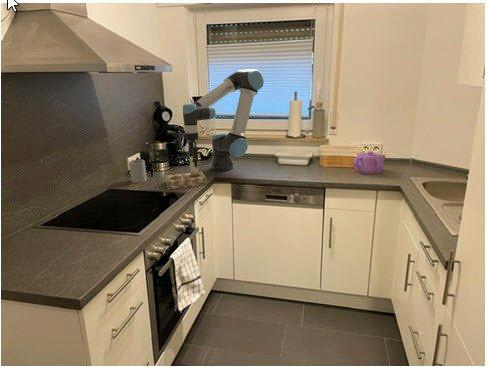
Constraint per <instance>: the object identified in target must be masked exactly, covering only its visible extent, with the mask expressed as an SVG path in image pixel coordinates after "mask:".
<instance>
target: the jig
mask: <svg viewBox="0 0 490 367" xmlns="http://www.w3.org/2000/svg"><path fill="white" fill-rule="evenodd" d="M198 175H199V177H192V178H191V172H187V173H186V172H185V173H179V174H178V173H177V174H168V175H167V174H166V175H165V176H164V178H165V180H164V181H165V184H166V187H167V190H173V189H181V188H189V187H188V186H190V187H197V186H196V185H198V186H206V185H208V180H207V176H206V175H205V174H204V173H203V171H199V172H198Z"/></svg>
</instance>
